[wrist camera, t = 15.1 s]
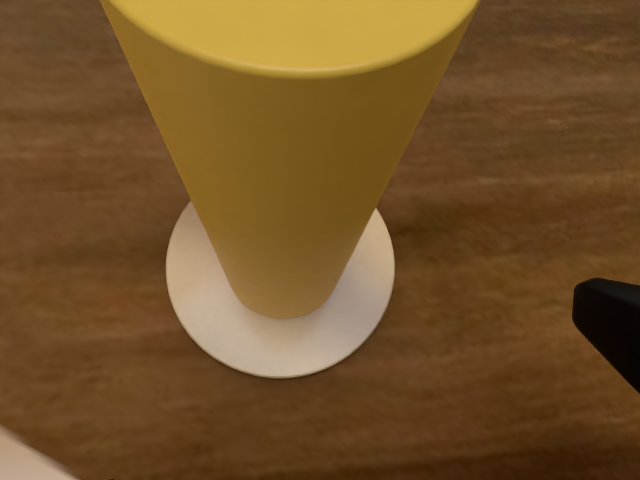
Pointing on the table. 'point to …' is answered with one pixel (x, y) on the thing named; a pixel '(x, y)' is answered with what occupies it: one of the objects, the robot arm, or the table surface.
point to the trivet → (273, 333)
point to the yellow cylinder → (287, 122)
